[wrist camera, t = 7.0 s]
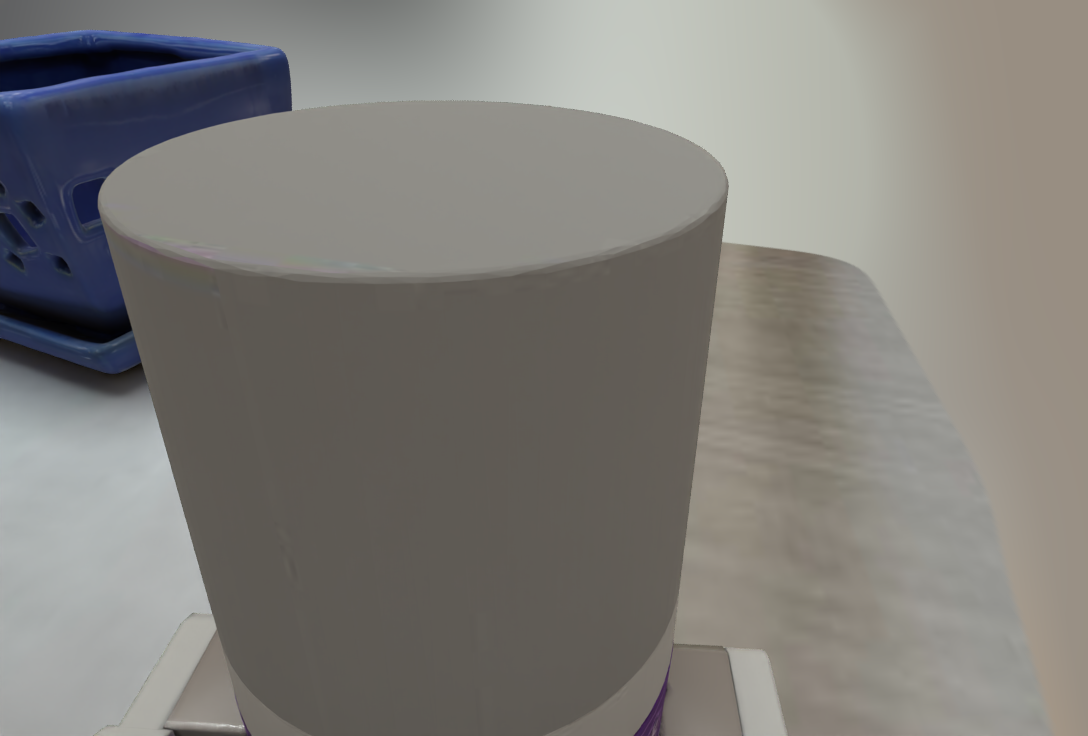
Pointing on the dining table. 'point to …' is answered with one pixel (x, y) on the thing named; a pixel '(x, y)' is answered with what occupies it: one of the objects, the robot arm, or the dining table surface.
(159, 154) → the container
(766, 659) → the robot arm
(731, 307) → the dining table surface
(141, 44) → the flower pot
